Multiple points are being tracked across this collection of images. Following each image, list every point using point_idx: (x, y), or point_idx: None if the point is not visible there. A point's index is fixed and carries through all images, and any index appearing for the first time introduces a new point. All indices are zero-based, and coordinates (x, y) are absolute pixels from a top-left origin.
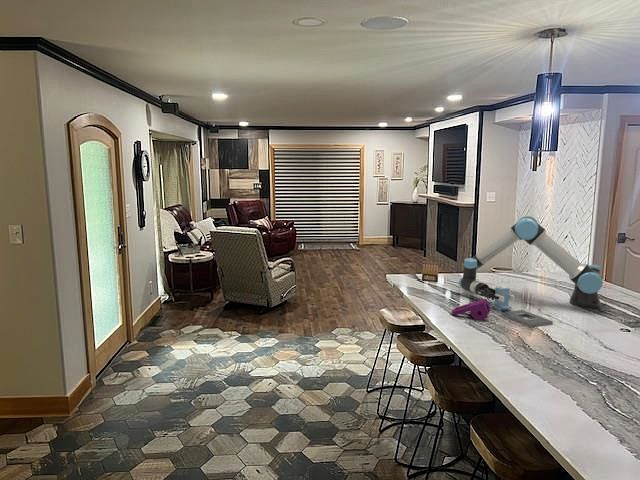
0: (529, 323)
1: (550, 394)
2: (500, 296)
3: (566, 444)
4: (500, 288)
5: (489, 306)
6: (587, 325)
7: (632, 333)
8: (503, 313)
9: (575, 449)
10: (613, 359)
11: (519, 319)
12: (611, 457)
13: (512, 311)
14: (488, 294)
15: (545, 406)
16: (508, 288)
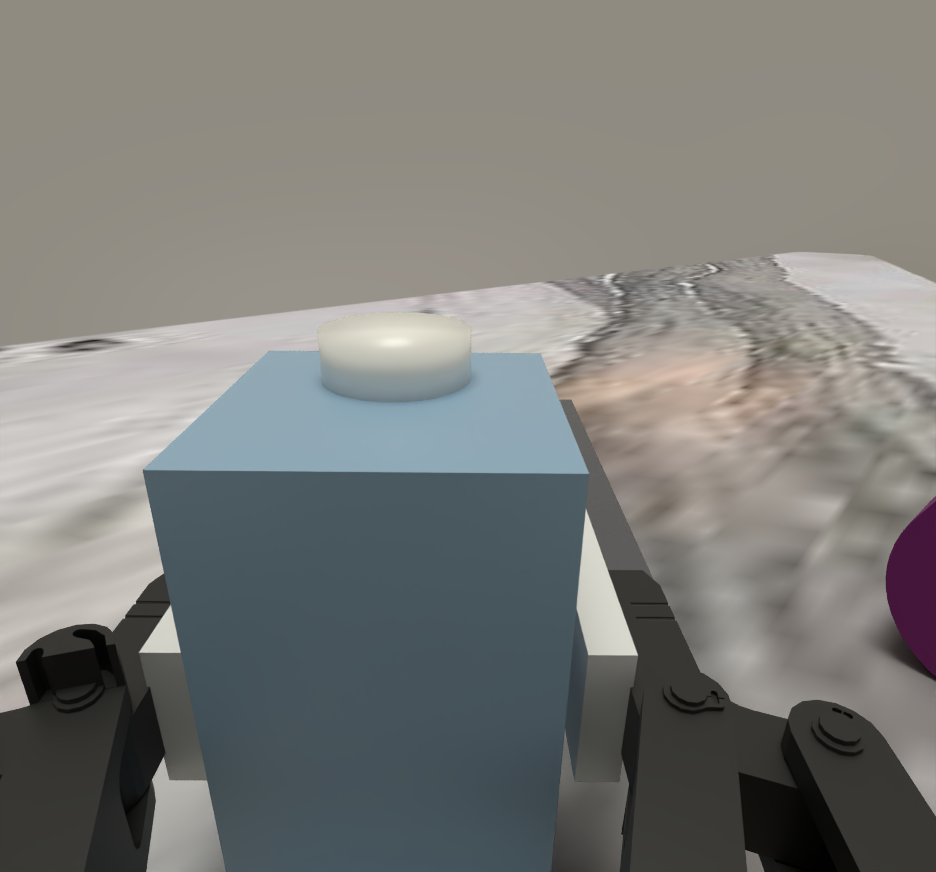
0: (570, 405)
1: (830, 284)
2: (586, 517)
3: (868, 262)
4: (534, 379)
5: (922, 511)
6: (159, 385)
7: (124, 333)
8: (649, 573)
9: (858, 260)
10: (502, 299)
11: (589, 448)
12: (809, 256)
13: None
14: (888, 757)
15: (864, 278)
16: (296, 353)
